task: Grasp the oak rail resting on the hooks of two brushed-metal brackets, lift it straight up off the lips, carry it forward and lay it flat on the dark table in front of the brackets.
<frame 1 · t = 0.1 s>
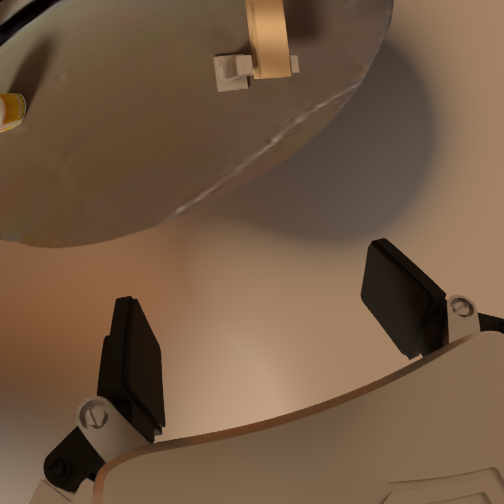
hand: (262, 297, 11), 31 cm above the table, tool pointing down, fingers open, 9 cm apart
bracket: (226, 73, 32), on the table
rail: (259, 6, 22), point 8 cm above the table, touching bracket, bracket
supplement bottle: (14, 110, 26), on the table
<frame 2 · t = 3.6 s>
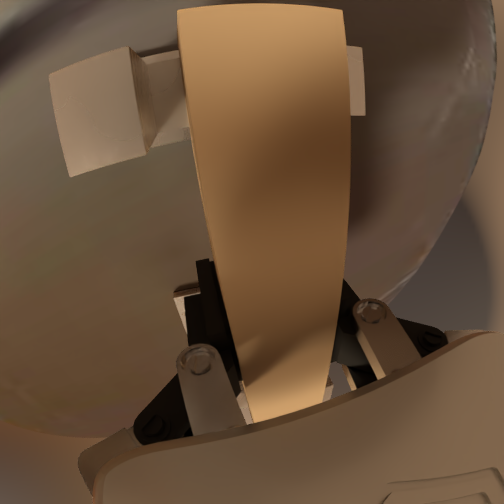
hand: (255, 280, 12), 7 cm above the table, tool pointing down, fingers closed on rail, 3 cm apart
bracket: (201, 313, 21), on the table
rail: (263, 298, 11), point 8 cm above the table, touching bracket, gripper
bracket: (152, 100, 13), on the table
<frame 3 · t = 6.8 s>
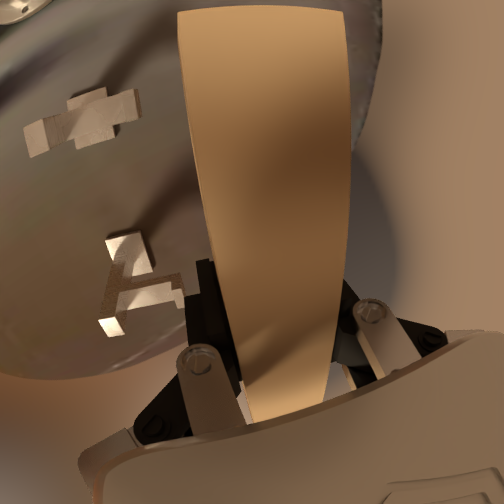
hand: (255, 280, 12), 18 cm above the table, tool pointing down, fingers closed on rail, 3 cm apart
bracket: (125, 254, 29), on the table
rail: (263, 299, 11), point 19 cm above the table, touching gripper
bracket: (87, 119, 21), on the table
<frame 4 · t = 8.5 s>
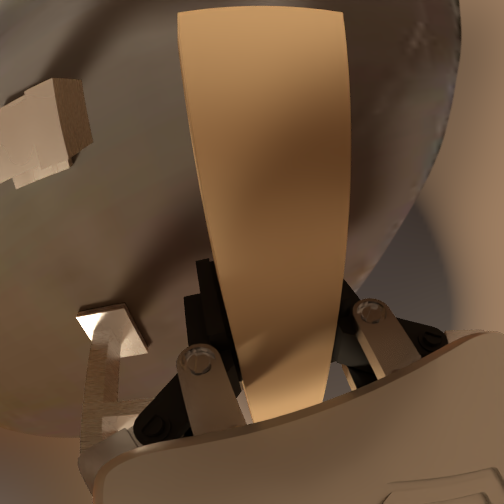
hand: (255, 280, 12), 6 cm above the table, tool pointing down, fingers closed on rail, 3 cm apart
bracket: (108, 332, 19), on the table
rail: (263, 299, 11), point 8 cm above the table, touching gripper
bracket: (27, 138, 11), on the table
when the fingers open (1 cm above the table, at t = 10.0 s): rail drops 2 cm, on the table.
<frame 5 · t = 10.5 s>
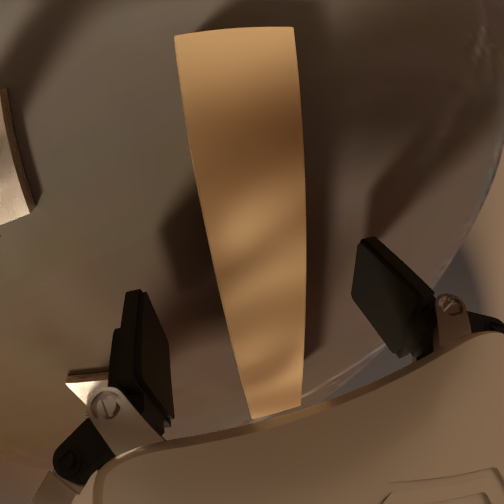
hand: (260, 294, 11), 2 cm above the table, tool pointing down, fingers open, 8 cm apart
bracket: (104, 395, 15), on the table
rail: (247, 263, 13), on the table
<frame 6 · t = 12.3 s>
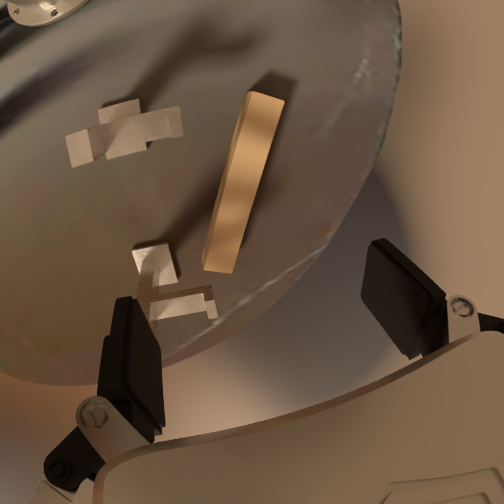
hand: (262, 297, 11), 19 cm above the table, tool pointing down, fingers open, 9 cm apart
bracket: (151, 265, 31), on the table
rail: (235, 180, 29), on the table
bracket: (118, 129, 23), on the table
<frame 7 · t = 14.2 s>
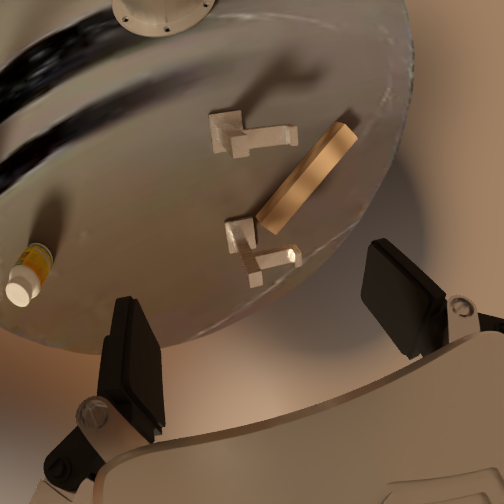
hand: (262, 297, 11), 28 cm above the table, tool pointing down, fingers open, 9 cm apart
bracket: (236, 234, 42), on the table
rail: (301, 173, 40), on the table
supplement bottle: (40, 256, 35), on the table
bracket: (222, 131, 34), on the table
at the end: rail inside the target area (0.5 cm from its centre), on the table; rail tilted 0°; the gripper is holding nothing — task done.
